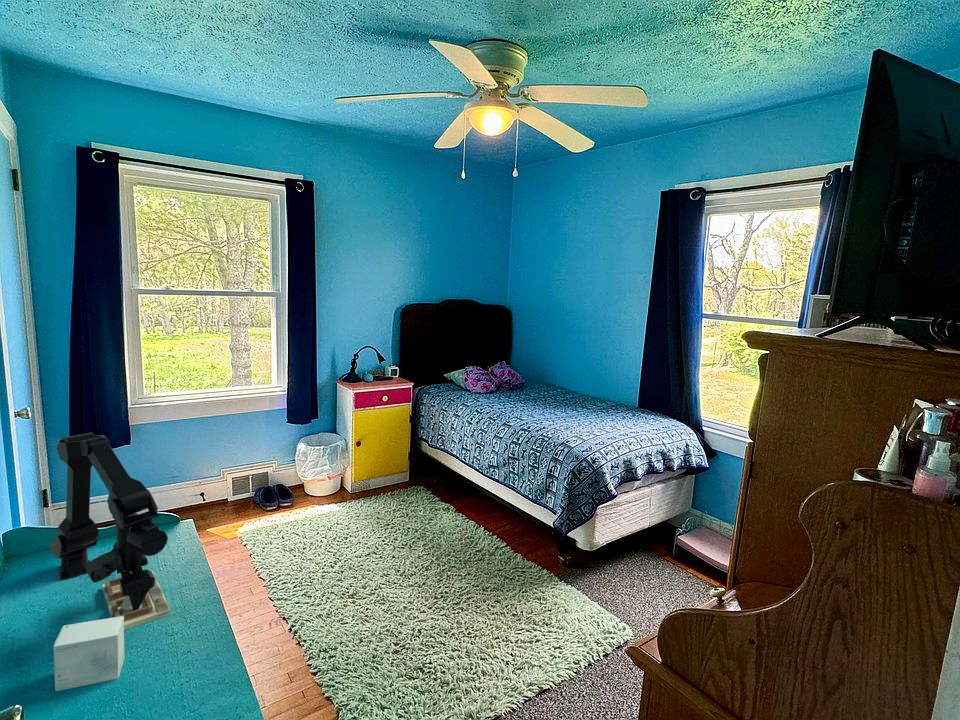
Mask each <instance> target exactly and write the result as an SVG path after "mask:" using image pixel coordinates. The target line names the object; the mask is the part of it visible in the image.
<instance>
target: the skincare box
mask: <svg viewBox="0 0 960 720" xmlns="http://www.w3.org/2000/svg"><path fill="white" fill-rule="evenodd" d="M125 659H126V658H125V630H124V616H120V617H114V618H111V617H109V618H101V619H96V620H89V621H84V622H77V623H72V624H71V623H70V624H65V625H63V626H62V628H61V629H60V631H59V633H58V635H57V637H56V639H55V642H54V645H53V666H54V668H53V670H54V671H53V673H54V690H55V692H59V691H64V690H68V689H69V690H70V689H74V688H78V687H84V686H89V685H93V684H99V683H104V682H107V681H108V682H109V681H112V680H117V679H119V677H120V674H121V671H122V667H123V663H124V661H125Z"/></svg>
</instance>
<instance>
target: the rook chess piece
mask: <svg viewBox="0 0 960 720" xmlns="http://www.w3.org/2000/svg"><path fill="white" fill-rule="evenodd" d="M142 606H143V605H142V604H141V605H140V607H139V609H140V608H142ZM120 611H121V613H122V614H125V613H128V612H131V611H133V609H132V605H131V602H130V598H129V596H125V599H124V601H123V603H122V605H121V610H120Z"/></svg>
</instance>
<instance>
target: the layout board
mask: <svg viewBox="0 0 960 720" xmlns="http://www.w3.org/2000/svg"><path fill="white" fill-rule="evenodd" d="M151 571H152V573H153V576H154V578H155V586H154V587H153V588H151V589H150V590H149V591H148V593H147V595H146V596H145V598H144V600H143V602H142V605H143V606H142V608H140V609H138V610H135V611H131V612H128V613H125V614H122V613H121V611H120V610H121V605H122V603H123V601H124V599H125V596H123V595H122V593H121V590H120V580H121V579H122V576H120V577H116V578H112V579H110V580H106V581H104V584H102V585H101V587H102V592H103V595H104V598H105V601H106V604H107V609H108V612H109V616H110V618H114V617H120V616H124V631H125V630H129V629H131V628H133V627H136V626H137V627H138V626H139V625H143V624H146V623H148V622H151V621H154V620H157V619H159V618H163V617H166V616H169V615H171V608H170V606H169V604H168V602H167V600H166V597H165V595H164V593H163V590H162V588H161V586H160V584H159V582H158V580H157V577H156V575H155V573H154V571H153V570H151Z"/></svg>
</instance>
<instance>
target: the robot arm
mask: <svg viewBox="0 0 960 720" xmlns="http://www.w3.org/2000/svg"><path fill="white" fill-rule="evenodd" d="M111 445H112V443H111V441H110V439H109V437H108V436H105V435H102V434H101V435H96V433H94V432H91V431H90V432H87V433H81V434H76V435H71V436H65V437H62V439H60V440H59V441H58V443H57V445H56V451H57V455H58V457H59V460H60V461H61V462H62V463H63V464H64V465H65V467H66V470H67V471H66V499H65V500H66V504H65V505H66V506H65V518H64V519H63V520H62V521H61V523H60V524H59V525H58V527H57V530H56V531H57V532H56V536H55V538H54V539H52V541H51V543H50V544H49V548H50V553H51V554H52V556H53V555H54V557H55V558H57V559H59V560H60V565H59V566H58V567H57V568H58V569H57V570H58V575H59V580H64V579H69V578H72V577H76V576H79V575H83V574H87V575H88V576H89V579H90V581H92V583H96V584H97V583H98V582H101V581H103V580H105V579H107V578H109V577H110V576H112V574H113V573H115V572H116V574H120V577H122V579H121V580H120V590H121V593H122V595H123V596H129V598H130V602H131V605H132V609H133V611H135V610H138V609H139V607H140V605H141V604H142V602H143V600H144V598H145V596H146V595H147V593H148V591H149V590H150V589H151V588H153V587H154V586H155V578H154V576H153V573H154V572H153V573H152V570H150V569H143V568H142V567H143V566H146V565H148V562H149V560H148V558H147V557H152V556H156V555H158V554H159V553H161V551H163V550H164V548H165V547H166V545H167V543H168V539H169V538H168V535H167V532H166V531H164V530H162V529H161V528H160V527H159V525H158V524H157V523H155V522H154V523H153V519H156V518H158V517H160V516H159V513H158V509H159V507H158V505H157V503H156V501H155V499H154V496H153V495H152V492H151V491H150V490H149V489H148V488H147V487H146V486H145V485H144V484H143V483H142V481H140V480H138V479H135V478H132V477H131V476H130V475H129V473H128V472H127V470H126V468H125V467H124V466H123V463H122V462H121V461H120V459H119V457H118V456H117V454H116V453H115V451H114V450H113V448H112V446H111ZM92 467H93V468H94V470H95V471H96V472H97V474H98V476H99V478H100V479H101V481H102V482H103V484H104V486H105V488H106V489H107V491H108V496H107V500H106V502H107V505H108V506H107V507H108V510H109V513H110V514H111V516H112V519H113V520H114V522H115V542H114V544H113V546H112V547H113V548H112V549H111V550H110V551H109V552H105V553H103V554H101V555H99V556H97V557H95V558H93V559H91V560H89V556H88V555H89V548H92V547H96V546H97V543H98V539H99V534H100V532H99V527H98V525H97V523H96V522H95V521H94V520H93V519H92V518H91V517H90V506H91V505H90V504H91V503H90V502H91V501H90V500H91V479H92V478H91V477H92ZM146 510H148V511H146ZM143 511H144V512H143ZM140 512H142V513H140ZM146 556H147V557H146Z"/></svg>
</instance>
